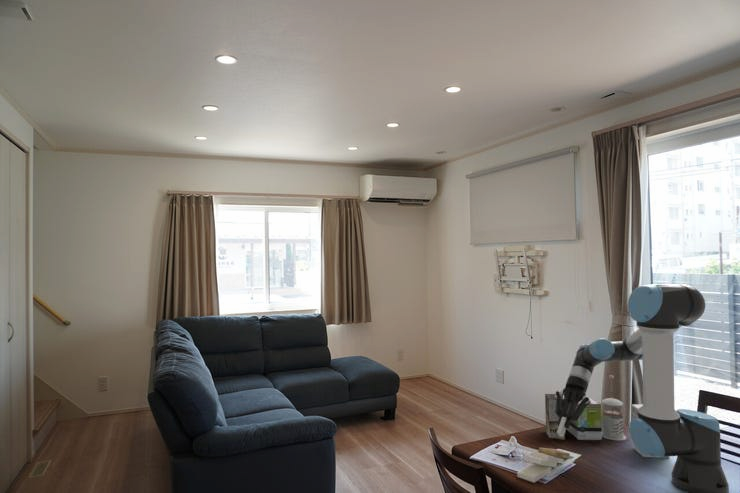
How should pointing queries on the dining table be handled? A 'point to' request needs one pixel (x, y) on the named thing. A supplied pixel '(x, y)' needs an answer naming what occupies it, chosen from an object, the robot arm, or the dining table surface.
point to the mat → (565, 462)
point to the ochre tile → (554, 452)
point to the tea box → (587, 422)
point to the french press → (612, 419)
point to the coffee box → (552, 416)
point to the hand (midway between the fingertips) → (560, 434)
